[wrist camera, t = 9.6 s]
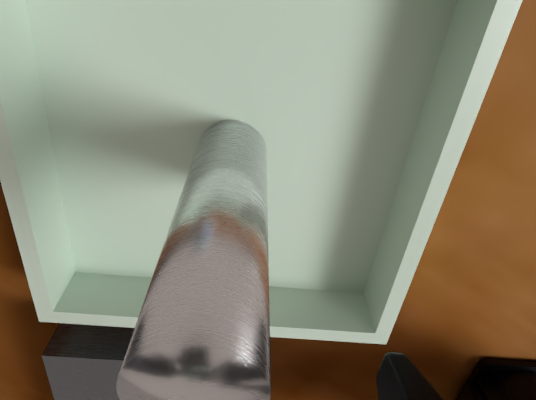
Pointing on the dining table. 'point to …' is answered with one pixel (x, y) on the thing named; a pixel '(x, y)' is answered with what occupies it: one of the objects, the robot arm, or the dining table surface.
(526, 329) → the dining table surface
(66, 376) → the hitch block
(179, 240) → the pin
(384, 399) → the robot arm
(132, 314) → the tray
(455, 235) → the dining table surface
